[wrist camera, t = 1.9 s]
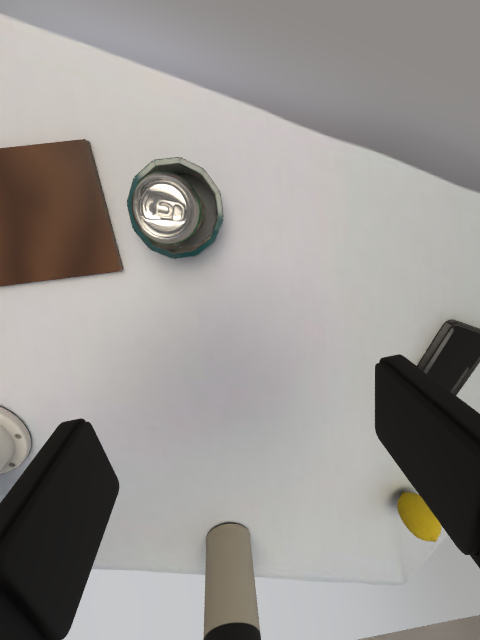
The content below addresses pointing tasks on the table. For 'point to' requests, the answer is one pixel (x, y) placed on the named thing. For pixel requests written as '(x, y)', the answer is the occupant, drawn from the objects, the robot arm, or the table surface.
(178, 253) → the teal cup
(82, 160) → the walnut board
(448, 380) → the phone
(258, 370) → the table surface
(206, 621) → the travel mug
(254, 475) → the table surface
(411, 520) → the lemon
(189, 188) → the soda can
